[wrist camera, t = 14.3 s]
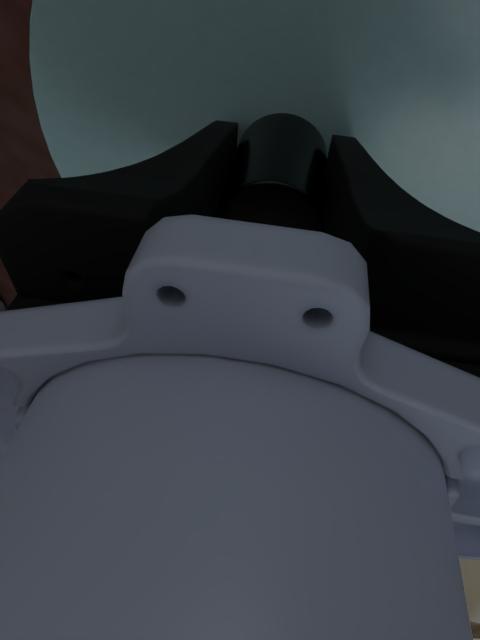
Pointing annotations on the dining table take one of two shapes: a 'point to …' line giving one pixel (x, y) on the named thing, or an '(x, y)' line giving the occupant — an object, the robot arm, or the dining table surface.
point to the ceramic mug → (2, 306)
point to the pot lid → (267, 93)
